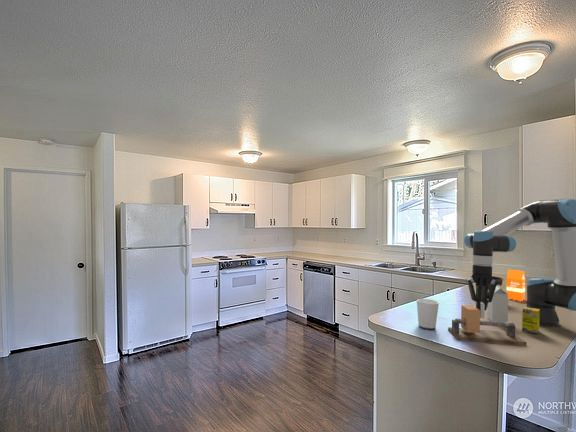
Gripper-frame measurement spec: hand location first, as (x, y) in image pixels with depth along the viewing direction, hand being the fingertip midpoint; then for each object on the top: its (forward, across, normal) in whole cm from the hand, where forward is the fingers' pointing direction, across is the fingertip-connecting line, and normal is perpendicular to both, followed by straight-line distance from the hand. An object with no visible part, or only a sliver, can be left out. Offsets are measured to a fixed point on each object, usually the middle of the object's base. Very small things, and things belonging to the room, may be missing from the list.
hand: (481, 317), depth 138 cm
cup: (+9, +21, -8) cm, 24 cm away
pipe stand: (+9, -2, 0) cm, 9 cm away
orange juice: (+9, -58, -83) cm, 102 cm away
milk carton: (+9, -20, -28) cm, 36 cm away
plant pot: (+9, -36, -71) cm, 80 cm away
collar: (+6, +4, 0) cm, 7 cm away
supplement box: (+9, -28, -14) cm, 33 cm away
